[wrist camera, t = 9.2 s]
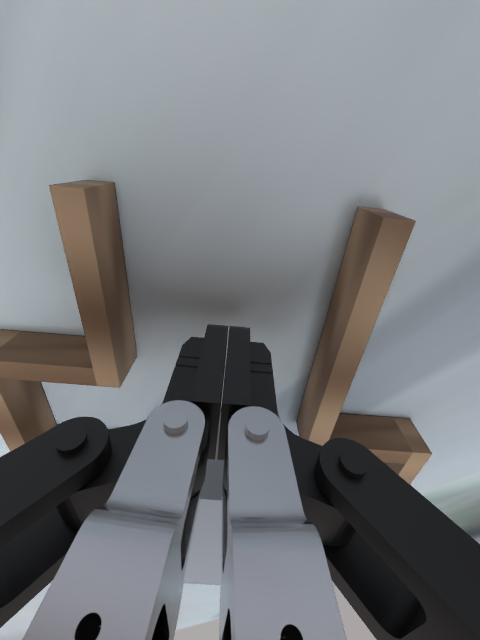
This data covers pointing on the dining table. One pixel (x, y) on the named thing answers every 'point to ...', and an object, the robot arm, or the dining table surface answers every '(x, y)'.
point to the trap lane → (119, 343)
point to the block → (207, 528)
